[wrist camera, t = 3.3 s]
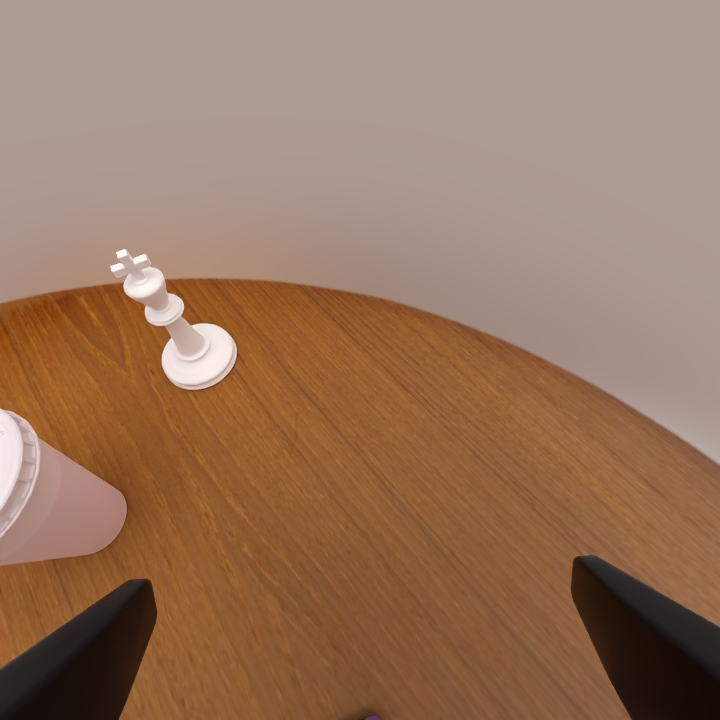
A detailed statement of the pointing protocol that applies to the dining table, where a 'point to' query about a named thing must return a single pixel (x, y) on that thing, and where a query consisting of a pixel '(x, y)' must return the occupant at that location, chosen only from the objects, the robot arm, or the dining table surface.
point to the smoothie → (50, 500)
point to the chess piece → (177, 328)
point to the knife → (372, 718)
